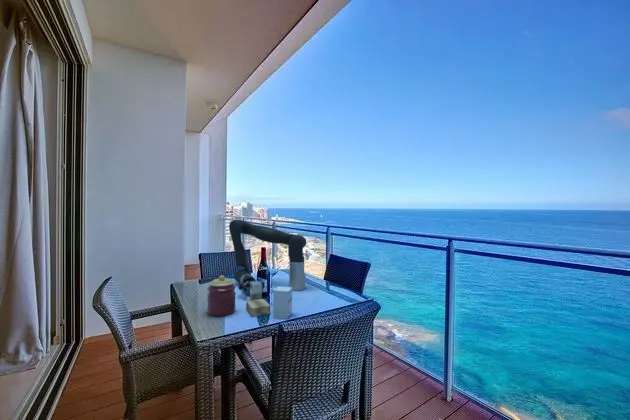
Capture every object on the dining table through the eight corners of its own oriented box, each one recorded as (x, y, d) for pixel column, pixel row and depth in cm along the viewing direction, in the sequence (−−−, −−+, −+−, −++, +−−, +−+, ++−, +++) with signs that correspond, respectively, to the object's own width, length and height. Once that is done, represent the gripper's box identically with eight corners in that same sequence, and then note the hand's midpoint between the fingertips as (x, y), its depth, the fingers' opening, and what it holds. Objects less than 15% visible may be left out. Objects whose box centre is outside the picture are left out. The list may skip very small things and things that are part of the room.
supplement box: (287, 318, 134) (288, 291, 134) (272, 317, 136) (272, 290, 136) (292, 313, 141) (292, 287, 141) (277, 311, 143) (277, 285, 143)
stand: (263, 306, 150) (264, 298, 150) (270, 314, 140) (270, 305, 140) (246, 309, 146) (246, 301, 146) (251, 316, 136) (251, 308, 136)
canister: (208, 318, 133) (208, 279, 133) (206, 309, 145) (206, 273, 145) (237, 314, 138) (237, 277, 138) (233, 305, 150) (233, 271, 150)
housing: (258, 299, 161) (259, 281, 161) (261, 302, 156) (261, 283, 156) (249, 300, 159) (249, 282, 159) (252, 303, 154) (252, 284, 153)
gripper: (235, 276, 172) (241, 282, 157) (259, 274, 178) (267, 280, 163) (235, 288, 172) (240, 296, 157) (259, 286, 178) (266, 294, 163)
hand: (254, 288), depth 160 cm, fingers open, 8 cm apart
